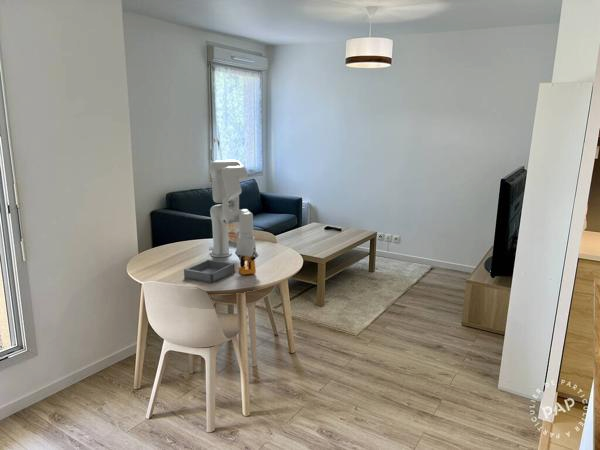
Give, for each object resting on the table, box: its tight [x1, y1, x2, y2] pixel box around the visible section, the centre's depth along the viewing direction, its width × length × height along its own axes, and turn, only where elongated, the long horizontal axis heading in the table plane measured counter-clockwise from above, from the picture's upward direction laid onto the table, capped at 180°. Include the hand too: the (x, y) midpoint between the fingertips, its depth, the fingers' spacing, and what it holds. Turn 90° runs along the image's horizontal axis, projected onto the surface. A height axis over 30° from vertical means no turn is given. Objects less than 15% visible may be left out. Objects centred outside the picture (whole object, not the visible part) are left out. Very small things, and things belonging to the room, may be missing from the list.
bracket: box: [237, 253, 257, 275], centre depth 240 cm, size 11×7×12 cm, turn 20°
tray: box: [183, 259, 235, 285], centre depth 237 cm, size 18×20×5 cm
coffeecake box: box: [225, 221, 239, 244], centre depth 306 cm, size 15×7×20 cm, turn 50°
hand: (246, 266), depth 241 cm, fingers closed on bracket, 4 cm apart
